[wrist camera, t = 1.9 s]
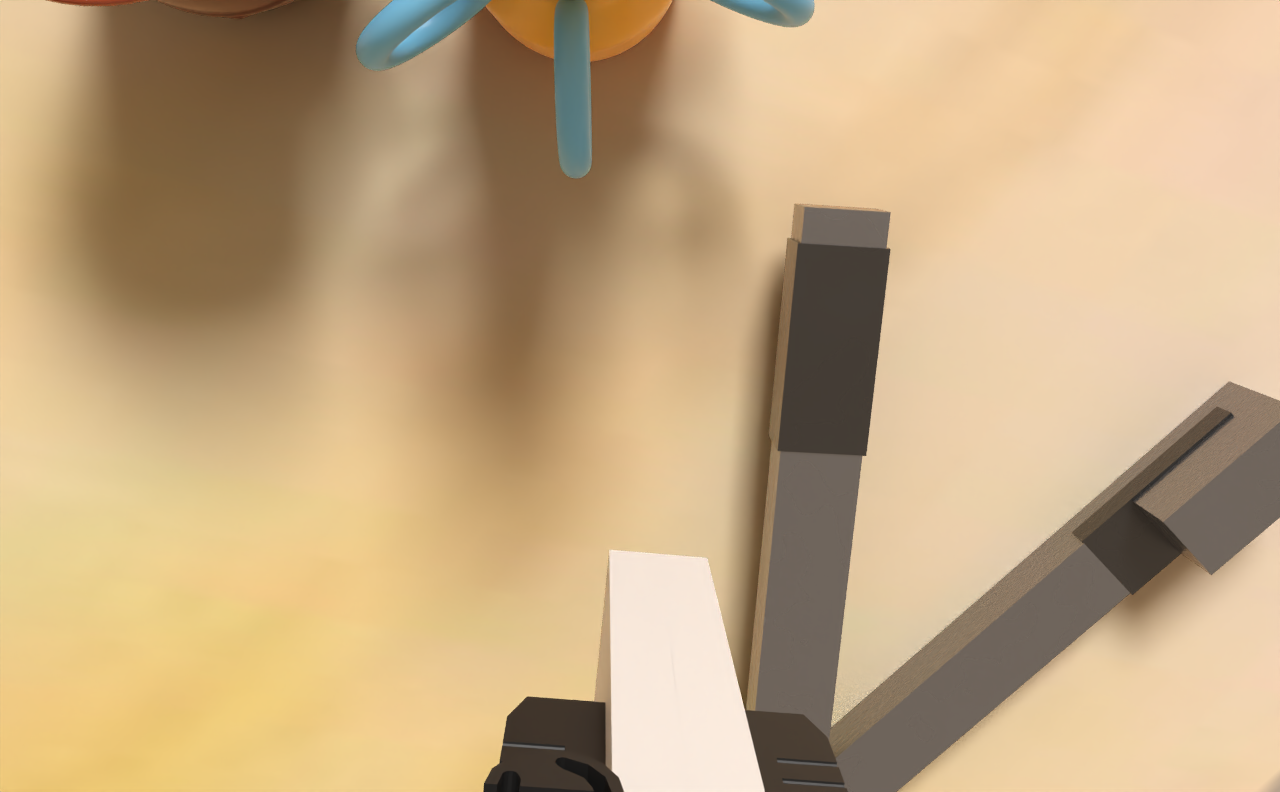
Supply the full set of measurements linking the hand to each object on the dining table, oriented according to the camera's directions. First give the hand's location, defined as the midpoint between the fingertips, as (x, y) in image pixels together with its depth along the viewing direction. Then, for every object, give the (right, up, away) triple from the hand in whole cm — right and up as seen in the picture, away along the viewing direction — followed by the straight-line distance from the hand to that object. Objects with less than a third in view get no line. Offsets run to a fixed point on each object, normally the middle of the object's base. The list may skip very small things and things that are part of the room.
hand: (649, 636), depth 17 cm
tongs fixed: (+11, -5, +20) cm, 24 cm away
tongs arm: (+5, 0, +17) cm, 18 cm away
